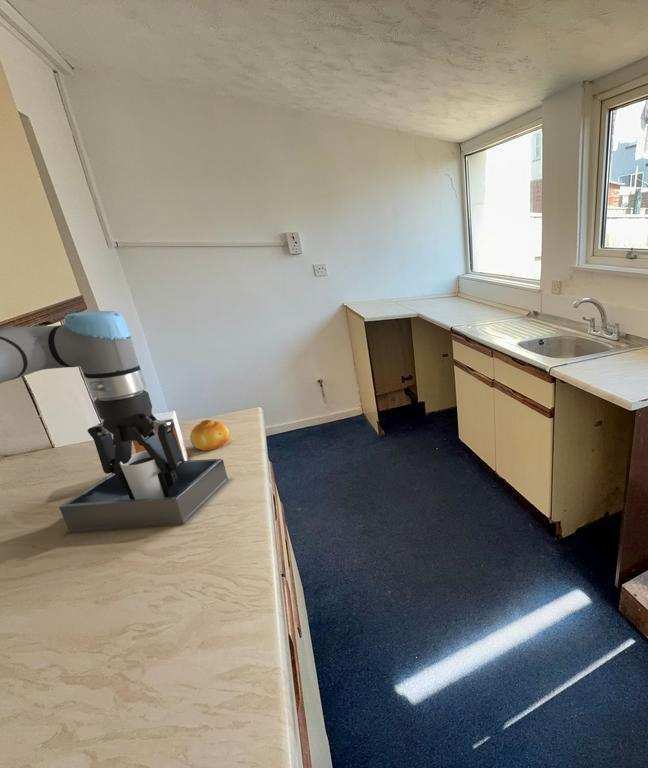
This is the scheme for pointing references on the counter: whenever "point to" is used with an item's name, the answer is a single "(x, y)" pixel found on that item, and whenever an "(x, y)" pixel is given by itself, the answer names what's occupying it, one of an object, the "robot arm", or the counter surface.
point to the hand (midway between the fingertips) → (155, 499)
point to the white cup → (143, 476)
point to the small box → (176, 430)
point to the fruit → (209, 435)
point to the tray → (144, 501)
